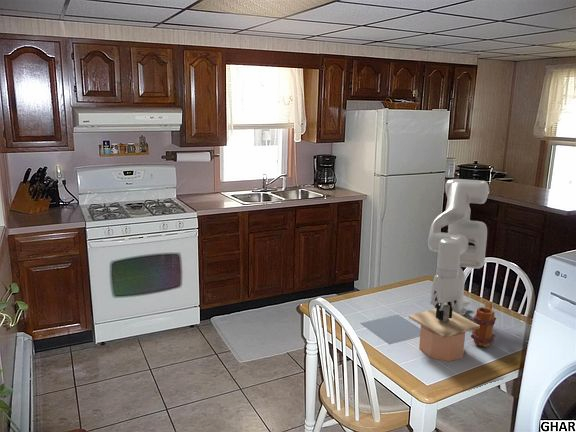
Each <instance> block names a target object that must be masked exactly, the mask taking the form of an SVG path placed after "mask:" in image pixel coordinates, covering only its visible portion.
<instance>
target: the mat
mask: <svg viewBox="0 0 576 432" xmlns="http://www.w3.org/2000/svg"><path fill="white" fill-rule="evenodd" d="M360 325H362V326H363V327H365V328H366V329H367V330H369V331H370V332H371V333H373V334H374V335H375V336H377V337H378V338H379V339H381V340H382V341H384V342H385V343H387V344H388V345H392V344H397V343H400V342H405V341H407V340H411V339H415V338H420V331H421V327H419V326H417V325H415V323H413V322H411V321H409V320H408V319H406V318H405V317H403V316H402V315H400V314H395V315H394V314H393V315H390V316H386V317H380V318H377V319H372V320H368V321H364V322H360Z"/></svg>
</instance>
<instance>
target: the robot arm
mask: <svg viewBox="0 0 576 432" xmlns="http://www.w3.org/2000/svg"><path fill="white" fill-rule="evenodd" d="M444 186H445V187H444V188H445V195H446V198H447V201H446V206H445V210H444V211H443V212H442V213H440V214H439V215H437V216H436V217H435V218H434V220H433V221H432V222H431V225H430V228H429V232H428V238H427V246H428V248H429V250H430V251H432V252H437V255H438V256H437V266H436V274H435V275H434V277H433V281H432V285H431V291H430V299H431V300H430V301H429V305H432V306H433V307H434V309H436V318H437V319H439V320H441V321H442V320H443V314H444V311H443V305H444V304H448V305H450V311H449V318H452V311H453V312H455V313H457V314H459V315H461V316H463V317H465V315H466V309H465V307H466V306H470V305H471V301H469V300H467V301H464V293H465V281H466V275H465V272H464V270H463V269H462V268H469V269H481V268H483V266H484V264H485V259H486V249H487V240H488V227H487V224H486V223H485V222H483V221H479V220H471V207H470V204H479V205H482V204H483V205H484V204H485V203H486V201H487V199H488V196H489V191H490V186H489V183H488V181H486V180H479V179H465V178H464V179H463V178H456V179H455V178H451V179H448V180H447V181H446V182H445V185H444ZM446 226H447V227H448V229H447V232H443V231H441V232H440V231H439V230H441V229H442V228H444V227H446ZM469 243H472V244H474V245H469Z"/></svg>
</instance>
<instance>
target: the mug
mask: <svg viewBox="0 0 576 432" xmlns="http://www.w3.org/2000/svg"><path fill="white" fill-rule="evenodd" d="M492 308H493V303H492V302H491V301H485V303H484V307H483V306H482V307H481V306H480V307H478V308H477V309H476V313H475V314H474V317H473V322H474V321H475V322H474V323H476V324H478V325H480V328H478V329H474V330H472V334H471V335H470V337H471V339H473V343H474V344H475V345H477V346H480V347H490V346H491V345H492V343H493V342H494V338H496V334H494V333H493V332H494V325H495V323H496V320H497V318H496V317H495V311H494V309H492Z"/></svg>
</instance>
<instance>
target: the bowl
mask: <svg viewBox="0 0 576 432" xmlns="http://www.w3.org/2000/svg"><path fill="white" fill-rule="evenodd" d="M420 329H421V331H420V337H419V347H418V349H419V350H420V351H422V352H423V353H424V354H426V355H427V356H429V358H430V359H434V360H440V361H445V362H451V361H455V360H459V359H462V358H464V350H465V348H464V347H465V337H466V332H463V333H460V334H456V335H452V336H449V337H445V338H441V337H439V336H438V335H436V334H434V333H433V332H431V331H430V330H428V329H426V328H425V327H423V326H421V325H420Z"/></svg>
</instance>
